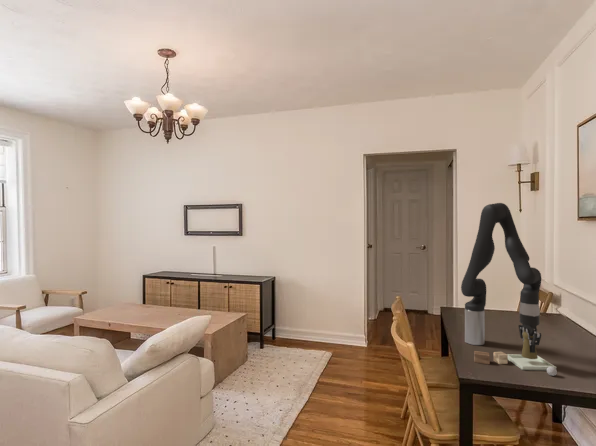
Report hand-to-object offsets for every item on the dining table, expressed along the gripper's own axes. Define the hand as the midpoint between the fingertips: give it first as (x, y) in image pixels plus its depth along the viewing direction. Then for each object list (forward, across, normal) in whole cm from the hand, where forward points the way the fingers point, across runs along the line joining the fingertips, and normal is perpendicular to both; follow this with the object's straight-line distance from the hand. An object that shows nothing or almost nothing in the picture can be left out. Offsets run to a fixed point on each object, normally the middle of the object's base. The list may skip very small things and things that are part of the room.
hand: (529, 351), depth 164 cm
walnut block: (+6, -2, -20) cm, 21 cm away
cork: (+3, 0, 0) cm, 3 cm away
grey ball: (+4, +12, +2) cm, 13 cm away
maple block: (+6, -2, -12) cm, 13 cm away
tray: (+6, 0, 0) cm, 6 cm away
